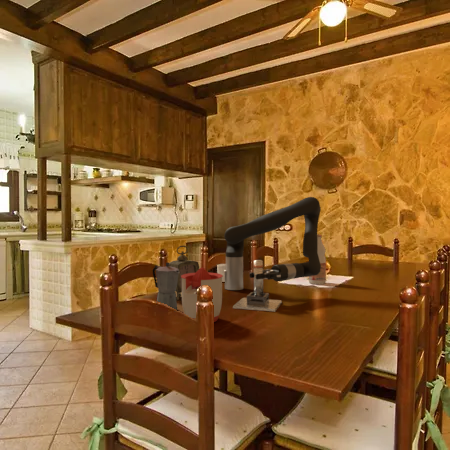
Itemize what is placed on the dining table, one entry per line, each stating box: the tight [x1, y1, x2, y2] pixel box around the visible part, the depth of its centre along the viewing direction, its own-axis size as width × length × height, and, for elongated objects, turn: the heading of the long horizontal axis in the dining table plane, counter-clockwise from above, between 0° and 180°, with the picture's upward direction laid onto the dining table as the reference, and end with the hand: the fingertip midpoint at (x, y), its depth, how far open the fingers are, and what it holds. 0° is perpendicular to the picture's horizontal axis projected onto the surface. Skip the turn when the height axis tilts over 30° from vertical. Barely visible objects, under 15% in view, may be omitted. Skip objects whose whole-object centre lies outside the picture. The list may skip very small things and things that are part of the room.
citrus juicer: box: [181, 267, 223, 323], centre depth 135 cm, size 16×17×20 cm
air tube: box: [253, 259, 264, 296], centre depth 158 cm, size 4×4×15 cm
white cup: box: [216, 263, 226, 282], centre depth 214 cm, size 8×8×10 cm
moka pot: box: [152, 262, 179, 311], centre depth 151 cm, size 10×15×20 cm, turn 58°
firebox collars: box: [232, 291, 282, 313], centre depth 158 cm, size 18×16×5 cm
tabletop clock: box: [168, 245, 200, 301], centre depth 173 cm, size 14×9×25 cm, turn 137°
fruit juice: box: [308, 233, 327, 285], centre depth 208 cm, size 9×9×28 cm
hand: (253, 276), depth 156 cm, fingers closed on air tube, 4 cm apart
